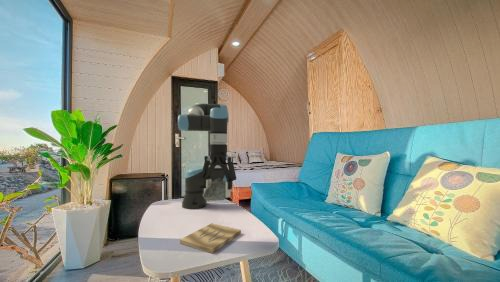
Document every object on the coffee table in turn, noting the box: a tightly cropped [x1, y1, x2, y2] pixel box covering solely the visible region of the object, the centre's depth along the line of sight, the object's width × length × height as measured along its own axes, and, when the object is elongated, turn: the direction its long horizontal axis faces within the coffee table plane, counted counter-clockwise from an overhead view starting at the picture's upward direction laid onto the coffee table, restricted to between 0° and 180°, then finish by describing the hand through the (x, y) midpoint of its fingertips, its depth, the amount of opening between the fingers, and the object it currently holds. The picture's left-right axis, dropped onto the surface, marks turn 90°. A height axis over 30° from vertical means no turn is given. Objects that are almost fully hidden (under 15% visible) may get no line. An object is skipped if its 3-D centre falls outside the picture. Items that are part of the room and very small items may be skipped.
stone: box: [203, 178, 227, 202], centre depth 95 cm, size 10×10×10 cm
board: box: [179, 222, 242, 254], centre depth 91 cm, size 20×16×2 cm
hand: (218, 195), depth 94 cm, fingers closed on stone, 10 cm apart
